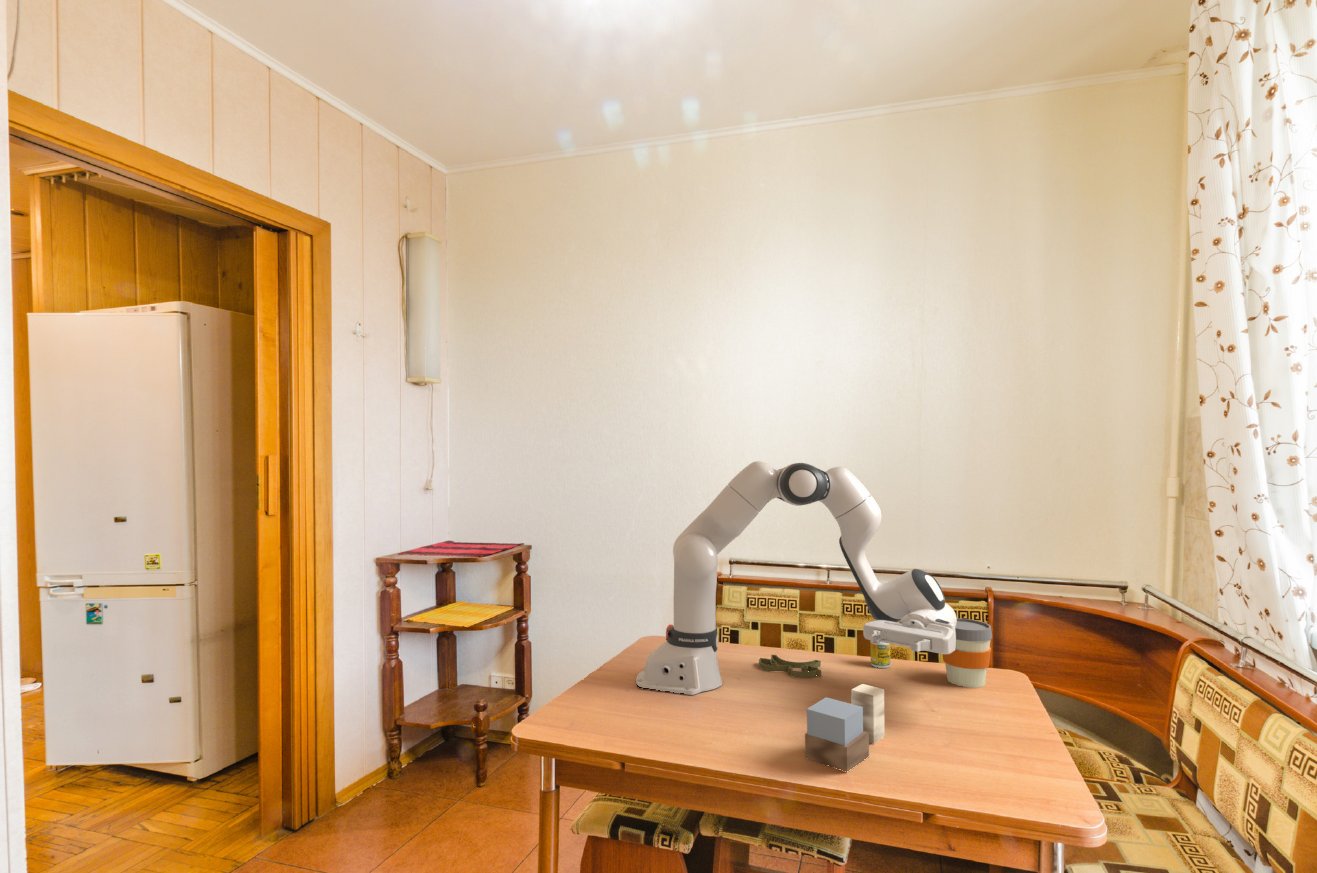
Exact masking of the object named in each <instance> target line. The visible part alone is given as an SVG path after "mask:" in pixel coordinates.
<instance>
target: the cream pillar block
mask: <svg viewBox="0 0 1317 873" xmlns="http://www.w3.org/2000/svg"><path fill="white" fill-rule="evenodd" d="M850 701H851V702H850V704H853V705H857V706H861V707H863V731H864V732H868V733H869V744H871V743H873V744H872V745H875V744H876V743H878V742H880V741H881V740H882V739H883V737H884V738H885V737H886V736H885V689H884V688H880V687H878V686H877V687H876V686H874V685H873V686H872V685H869V684H865V683H861V684H859V685H857V686H856V687H854V688H852V689H851V691H850ZM880 739H881V740H880ZM877 741H878V742H877ZM874 743H875V744H874Z"/></svg>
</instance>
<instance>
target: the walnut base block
mask: <svg viewBox="0 0 1317 873" xmlns="http://www.w3.org/2000/svg"><path fill="white" fill-rule="evenodd" d="M804 742H805V743H804V744H805V745H804V751H805V752H804V758H805V759H806V758H808V759H807V760H809V759H810V760H809V761H812V760H813V761H812V762H816V763H818V764H820V763H821V764H820V765H823V764H824V766H826V765H829V766H830V767H829V766H828V767H829V768H831V767H835V768H837V769H841V770H843V771H846V772H847V771H849V770H850V769H852V768H853V767H855V766H856V765H857V766H859V765H860V764H862V763H863V762H864V761H865V760H864V759H866V758H867V757H868V756H869V757H870V743H869V733H868V732H864V731H863V733H861V734H860V735H859V736H858V737H856V738H855V739H854V740H852V741H851V742H850V743H848V744H847V745H846V746H843V745H840V744H837V743H834V742H830V741H827V740H824V739H821V738H818V737H814V736H811V735H808V734H807V732H806V733H805V734H804ZM869 757H868V758H869ZM868 758H867V759H868ZM867 759H866V760H867ZM862 761H863V762H862ZM861 762H862V763H861ZM859 763H860V764H859ZM858 764H859V765H858ZM857 766H856V767H857ZM856 767H855V768H856ZM837 769H836V770H837ZM853 769H854V768H853ZM853 769H852V770H853ZM843 771H842V772H843ZM849 772H850V771H849Z"/></svg>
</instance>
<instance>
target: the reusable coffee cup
mask: <svg viewBox="0 0 1317 873" xmlns="http://www.w3.org/2000/svg"><path fill="white" fill-rule="evenodd" d="M955 632H956V647H955V651H953V652H952V653H950V654H941V655H942V660H943V662H944V663H945V670H946V678H947V681H948V682H949V683H950V682H951V683H950V684H952V685H954V684H955V686H958V687H962V686H963V688H969V689H971V688H972V689H973V688H974V689H978V688H983V687H985V686H986V680H987V670H988V668H989V666H990V660H991V653H992V647H991V640H992V639H993V633H992V626H991V624H989V623H987V622H984V621H980V620H975V619H971V618H970V619H969V618H959V617H958V618H957V624H956V627H955ZM982 686H983V687H982Z"/></svg>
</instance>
